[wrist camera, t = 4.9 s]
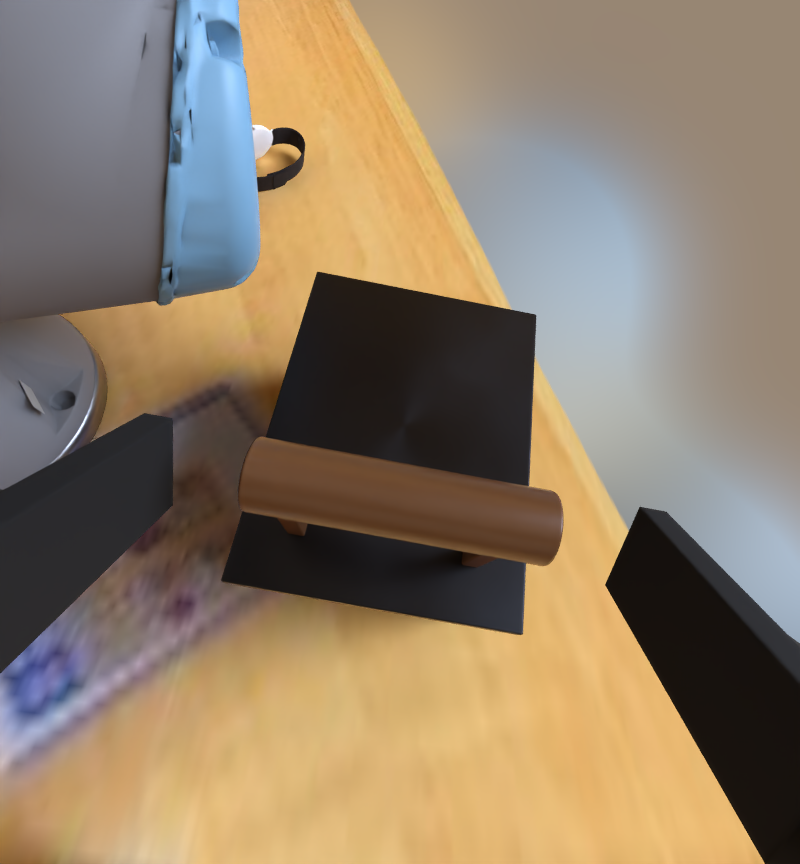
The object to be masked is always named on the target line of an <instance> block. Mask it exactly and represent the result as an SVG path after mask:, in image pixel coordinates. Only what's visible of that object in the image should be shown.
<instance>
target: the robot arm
mask: <svg viewBox="0 0 800 864" xmlns="http://www.w3.org/2000/svg"><path fill="white" fill-rule="evenodd" d="M259 254H260V219H259V202H258V187H257V175H256V162H255V152H254V142H253V131H252V121H251V111H250V102H249V94H248V85H247V77H246V71H245V68H244V65H243V47H242V39H241V32H240V25H239V6H238V0H0V673H1V672H2V671H3V670H4V669H5V668H6V667H7V666H8V665H9V664H10V663H11V662H12V661H13V660H15V659H16V658H17V657H18V656H19V655H20V654H21V653H22V652H23V651H24V650H25V649H26V648H27V647H28V646H29V645H30V644H31V643H32V642H33V641H34V640H35V639H36V638H37V637H38V636H39V635H40V634H41V633H42V632H43V631H44V630H45V629H46V628H47V627H48V626H49V625H50V624H51V623H52V622H53V621H55V620H56V619H57V618H58V617H59V616H60V615H61V614H62V613H63V612H64V611H65V610H66V609H67V608H68V607H69V606H70V605H71V604H72V603H73V602H74V601H75V600H76V599H77V598H78V597H79V596H80V595H81V594H82V593H83V592H84V591H85V590H86V589H87V588H88V587H89V586H90V585H91V584H92V583H93V582H95V581H96V580H97V579H98V578H99V577H100V576H101V575H102V574H103V573H104V572H105V571H106V570H107V569H108V568H109V567H110V566H111V565H112V564H113V563H114V562H115V561H116V560H117V559H118V558H119V557H120V556H121V555H122V554H123V553H124V552H125V551H126V550H127V549H128V548H129V547H130V546H131V545H132V544H133V543H134V542H136V541H137V540H138V539H139V538H140V537H141V536H142V535H143V534H144V533H145V532H146V531H147V530H148V529H149V528H150V527H151V526H152V525H153V524H154V523H155V522H156V521H157V520H158V519H159V518H160V517H161V516H162V515H163V514H164V513H165V512H166V511H167V510H168V509H169V508H170V507H171V506H172V505H173V419H172V418H167V417H162V416H157V415H151V414H146V413H144V414H142V415H140V416H139V417H137V418H135V419H133V420H131V421H129V422H127V423H126V424H124V425H122V426H120V427H118V428H116V429H115V430H113V431H111V432H109V433H107V434H105V435H104V436H102V437H100V438H98V439H96V440H94V441H92V442H91V440H92V439H93V437H94V435H95V433H96V431H97V429H98V427H99V424H100V422H101V420H102V417H103V413H104V410H105V405H106V400H107V378H106V373H105V369H104V366H103V363H102V361H101V359H100V357H99V355H98V353H97V352H96V350H95V349H94V347H93V346H92V345H91V344H90V342H89V341H88V340H87V339H86V338H85V337H84V336H83V335H82V334H81V333H80V332H79V331H78V329H77V328H76V327H74V326H73V325H72V324H71V323H70V322H69V321H67V320H66V319H65V318H63V317H62V316H60V315H59V314H63V313H71V312H78V311H85V310H93V309H100V308H107V307H114V306H122V305H129V304H136V303H143V302H151V301H156V302H157V303H158V304H159V305H160V306H161V305H167V304H170V303H171V302H172V301H173V299H175V298H180V297H185V296H191V295H196V294H202V293H207V292H213V291H218V290H224V289H229V288H232V287H235V286H237V285H239V284H241V283H242V282H244V281H245V280H246V279H247V278H248V277H249V276H250V275H251V273H252V272H253V271H254V269H255V267H256V265H257V262H258V258H259ZM90 442H91V443H90ZM605 585H606V587H607V589H608V591H609V592H610V594H611V596H612V598H613V599H614V601H615V603H616V605H617V606H618V608H619V610H620V612H621V613H622V615H623V617H624V619H625V620H626V622H627V624H628V625H629V627H630V629H631V631H632V632H633V634H634V636H635V638H636V639H637V641H638V643H639V645H640V646H641V648H642V650H643V652H644V653H645V655H646V657H647V659H648V660H649V662H650V664H651V666H652V667H653V669H654V671H655V673H656V674H657V676H658V678H659V680H660V681H661V683H662V685H663V687H664V688H665V690H666V692H667V693H668V695H669V697H670V699H671V700H672V702H673V704H674V706H675V707H676V709H677V711H678V713H679V714H680V716H681V718H682V720H683V721H684V723H685V725H686V727H687V728H688V730H689V732H690V734H691V735H692V737H693V739H694V741H695V742H696V744H697V746H698V748H699V749H700V751H701V753H702V755H703V756H704V758H705V760H706V761H707V763H708V765H709V767H710V768H711V770H712V772H713V774H714V775H715V777H716V779H717V781H718V782H719V784H720V786H721V788H722V789H723V791H724V793H725V795H726V796H727V798H728V800H729V802H730V803H731V805H732V807H733V809H734V810H735V812H736V814H737V816H738V817H739V819H740V821H741V822H742V824H743V826H744V828H745V829H746V831H747V833H748V835H749V836H750V838H751V840H752V842H753V843H754V845H755V847H756V849H757V850H758V852H759V854H760V856H761V857H762V859H763V861H764V863H765V864H800V643H798V642H797V641H795V640H794V639H793V638H791V637H790V636H789V635H787V634H786V633H785V632H784V631H783V630H782V629H781V628H780V627H779V626H778V625H777V623H776V622H774V621H773V620H772V618H770V617H769V615H767V614H766V612H765V611H764V610H763V609H762V608H761V607H760V606H759V605H758V604H757V603H756V602H755V601H754V600H753V599H752V598H751V597H750V596H749V595H748V594H747V593H746V592H745V591H744V590H743V589H742V588H741V587H740V586H739V585H738V584H737V583H736V582H735V581H734V580H733V579H732V578H731V577H730V576H729V575H728V574H727V573H726V572H725V571H724V570H723V569H722V568H721V567H720V566H719V565H718V564H717V563H716V562H715V561H714V560H713V559H712V558H711V557H710V556H709V555H708V554H707V553H706V552H705V551H704V550H703V549H702V548H701V547H700V546H699V545H698V544H697V542H696V541H695V540H694V539H693V538H692V537H690V536H689V534H688V533H687V532H686V531H685V530H683V528H682V527H681V526H680V525H679V524H678V523H677V522H676V521H675V520H674V519H673V518H672V517H671V516H670V515H669V514H668V513H667V512H664V511H659V510H654V509H648V508H643V507H639V510H638V512H637V514H636V517H635V519H634V521H633V523H632V526H631V528H630V530H629V532H628V535H627V537H626V539H625V541H624V544H623V546H622V548H621V550H620V553H619V555H618V557H617V559H616V562H615V564H614V566H613V568H612V571H611V573H610V575H609V577H608V580H607V582H606V584H605Z"/></svg>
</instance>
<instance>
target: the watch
mask: <svg viewBox="0 0 800 864" xmlns="http://www.w3.org/2000/svg"><path fill="white" fill-rule="evenodd" d="M252 131H253V142H254V152H255V160H257V159H259V158H261V157H262V156H263V155H265V153H266V152H267V151H268V149H269V148H270V146H273V145H275V144H282V143H285V144H291V145H293V146H295V147H297V148H298V149H299V151H300V152H301V156H300V158H299V159H298V160H297V161H296V162H295V163H294V164H292V165H290V166H288V167H286V168H284V169H282V170H280V171H277V172H274V173H270V174H267V176H266V177H257V187H258V191H265V190H270V189H275V188H277V187H280V186H283V185H285V184H286V182H287V181H288V180H290V179H292V178H293V177H295V176H296V175H297V174H298V173H299V172H300V170H301V169H302V166H303V162H304V152H305V142H304V139H303V137H302V135H301V134H300V133H299V132H297V131H296V130H294V129H291V128H276V129H274V130H273V129H271V130H270V131H269V130H268V129H267V128H265V127H263V126H261V125H253V126H252Z"/></svg>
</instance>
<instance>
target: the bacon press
mask: <svg viewBox="0 0 800 864" xmlns="http://www.w3.org/2000/svg"><path fill="white" fill-rule="evenodd" d="M535 333H536V315H535V314H530V313H524V312H519V311H514V310H510V309H504V308H499V307H494V306H489V305H484V304H479V303H474V302H469V301H464V300H459V299H454V298H449V297H444V296H439V295H433V294H428V293H423V292H418V291H413V290H408V289H403V288H398V287H393V286H388V285H383V284H378V283H373V282H368V281H362V280H357V279H352V278H347V277H342V276H337V275H332V274H327V273H322V272H317V274H316V277H315V281H314V284H313V287H312V290H311V293H310V297H309V300H308V303H307V306H306V309H305V313H304V316H303V319H302V322H301V325H300V329H299V332H298V335H297V338H296V342H295V345H294V348H293V351H292V354H291V358H290V361H289V364H288V367H287V370H286V374H285V377H284V380H283V383H282V386H281V390H280V393H279V396H278V399H277V402H276V406H275V409H274V412H273V415H272V419H271V422H270V425H269V428H268V431H267V435H266V437H258V438H256V439H255V440H254V442H253V443H252V444H251V446H250V448H249V450H248V452H247V454H246V457H245V460H244V463H243V466H242V470H241V474H240V479H239V486H238V503H239V507H240V509H241V510H242V511H243V512H242V515H241V518H240V521H239V524H238V528H237V531H236V534H235V537H234V540H233V544H232V547H231V550H230V553H229V557H228V560H227V563H226V566H225V569H224V573H223V576H222V579H221V581H222V582H224V583H227V584H233V585H238V586H244V587H250V588H255V589H261V590H267V591H272V592H278V593H284V594H289V595H295V596H301V597H306V598H312V599H317V600H323V601H329V602H334V603H340V604H346V605H351V606H357V607H363V608H368V609H374V610H380V611H385V612H391V613H396V614H402V615H408V616H413V617H419V618H425V619H430V620H436V621H442V622H447V623H453V624H459V625H464V626H470V627H476V628H481V629H487V630H492V631H498V632H504V633H509V634H515V635H522V634H523V619H524V595H525V571H526V563H527V564H533V565H538V566H546V565H548V564H550V563H551V562H552V561H553V559H554V558H555V556H556V554H557V552H558V549H559V546H560V542H561V538H562V532H563V508H562V504H561V500H560V498H559V496H558V495H557V494H556V493H555V492H553V491H550V490H545V489H540V488H534V487H529V476H530V452H531V428H532V404H533V380H534V357H535Z"/></svg>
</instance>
